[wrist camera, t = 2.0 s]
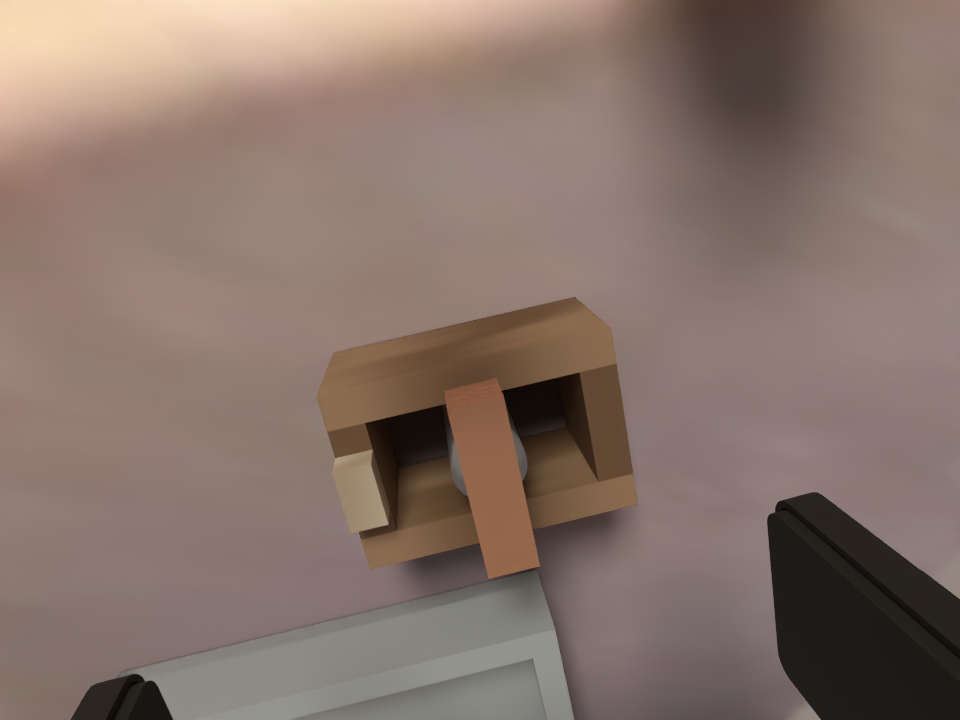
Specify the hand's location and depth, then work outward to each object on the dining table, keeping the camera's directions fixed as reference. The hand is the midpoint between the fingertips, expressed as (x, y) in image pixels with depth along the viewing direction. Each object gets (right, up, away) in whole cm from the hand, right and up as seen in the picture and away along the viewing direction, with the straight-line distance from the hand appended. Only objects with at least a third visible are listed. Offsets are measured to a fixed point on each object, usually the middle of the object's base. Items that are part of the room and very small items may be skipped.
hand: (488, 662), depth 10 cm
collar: (0, +3, +9) cm, 10 cm away
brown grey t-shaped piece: (0, +3, +9) cm, 10 cm away
